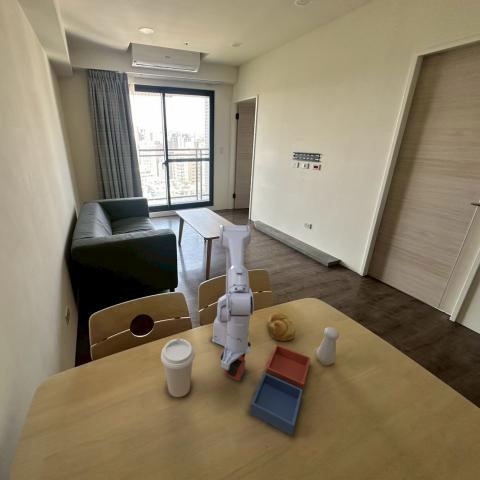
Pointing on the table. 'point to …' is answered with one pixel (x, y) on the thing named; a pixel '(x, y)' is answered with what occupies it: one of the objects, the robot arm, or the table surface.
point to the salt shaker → (328, 346)
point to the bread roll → (281, 327)
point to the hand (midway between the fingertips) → (234, 368)
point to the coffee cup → (178, 366)
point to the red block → (239, 370)
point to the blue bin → (277, 403)
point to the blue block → (242, 372)
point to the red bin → (288, 366)
